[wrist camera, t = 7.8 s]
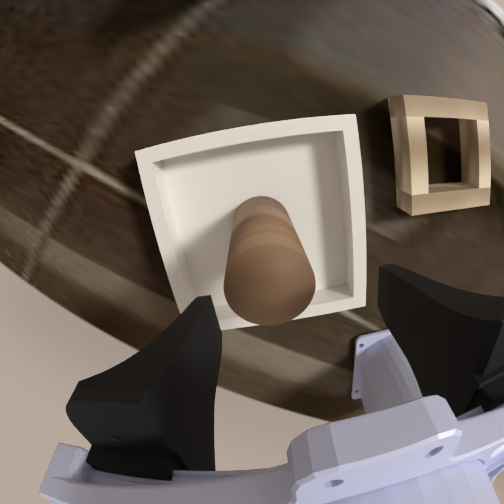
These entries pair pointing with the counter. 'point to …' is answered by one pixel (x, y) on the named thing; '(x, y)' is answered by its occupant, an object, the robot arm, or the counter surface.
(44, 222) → the counter surface
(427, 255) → the counter surface
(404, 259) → the counter surface
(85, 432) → the robot arm
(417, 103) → the collar
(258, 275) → the wooden dowel
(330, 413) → the counter surface
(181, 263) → the tray
